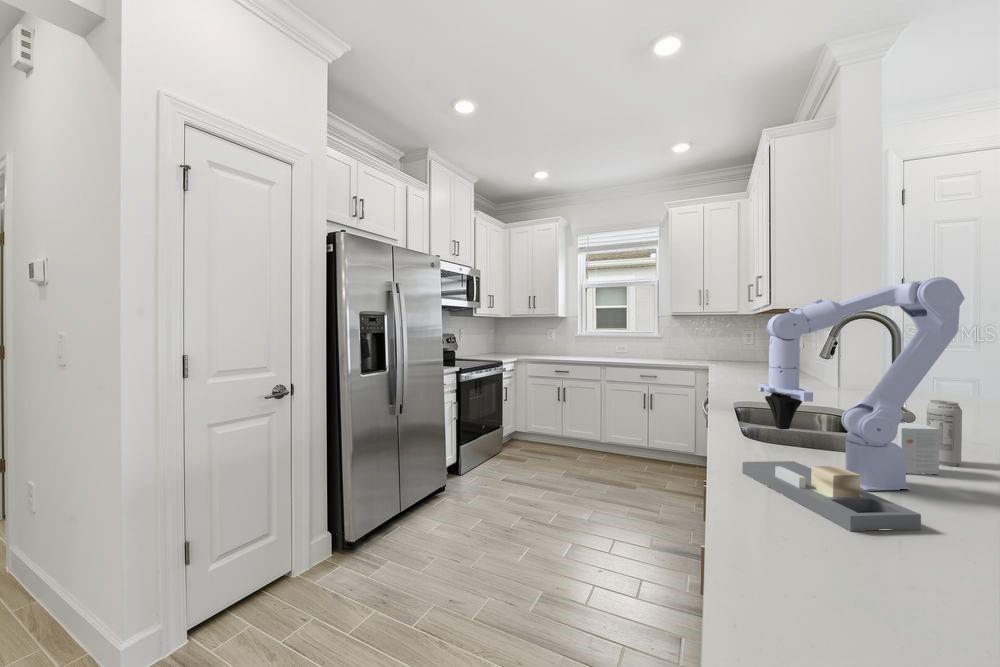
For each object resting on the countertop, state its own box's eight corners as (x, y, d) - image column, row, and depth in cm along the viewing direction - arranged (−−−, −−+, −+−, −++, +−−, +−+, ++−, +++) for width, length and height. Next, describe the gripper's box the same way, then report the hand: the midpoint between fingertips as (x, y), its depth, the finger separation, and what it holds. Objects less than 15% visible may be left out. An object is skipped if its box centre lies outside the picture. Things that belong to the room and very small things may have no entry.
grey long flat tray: (793, 472, 98) (793, 452, 98) (920, 529, 70) (921, 502, 70) (742, 472, 97) (742, 453, 97) (850, 531, 69) (850, 503, 69)
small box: (918, 467, 102) (918, 423, 101) (939, 475, 96) (940, 428, 96) (881, 466, 102) (882, 422, 102) (900, 474, 97) (901, 427, 97)
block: (836, 486, 82) (836, 466, 82) (859, 497, 77) (860, 474, 77) (811, 487, 81) (811, 466, 81) (833, 497, 76) (833, 475, 76)
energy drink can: (968, 466, 103) (969, 403, 103) (948, 467, 101) (950, 404, 101) (937, 458, 109) (938, 399, 108) (919, 460, 107) (920, 400, 107)
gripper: (745, 364, 102) (744, 421, 102) (790, 370, 88) (789, 437, 88) (774, 364, 103) (773, 421, 103) (823, 370, 88) (822, 436, 88)
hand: (782, 428), depth 95 cm, fingers closed
